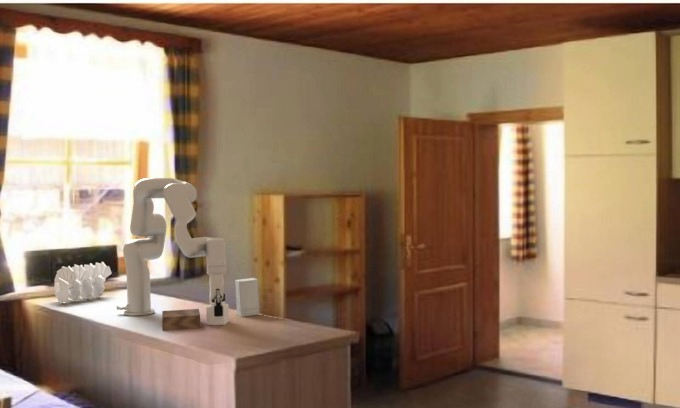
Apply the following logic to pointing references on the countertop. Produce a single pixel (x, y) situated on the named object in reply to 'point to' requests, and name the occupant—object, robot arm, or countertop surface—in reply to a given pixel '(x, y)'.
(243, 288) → the skincare box
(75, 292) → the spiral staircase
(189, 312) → the walnut riser
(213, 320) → the medicine bottle
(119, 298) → the countertop surface
